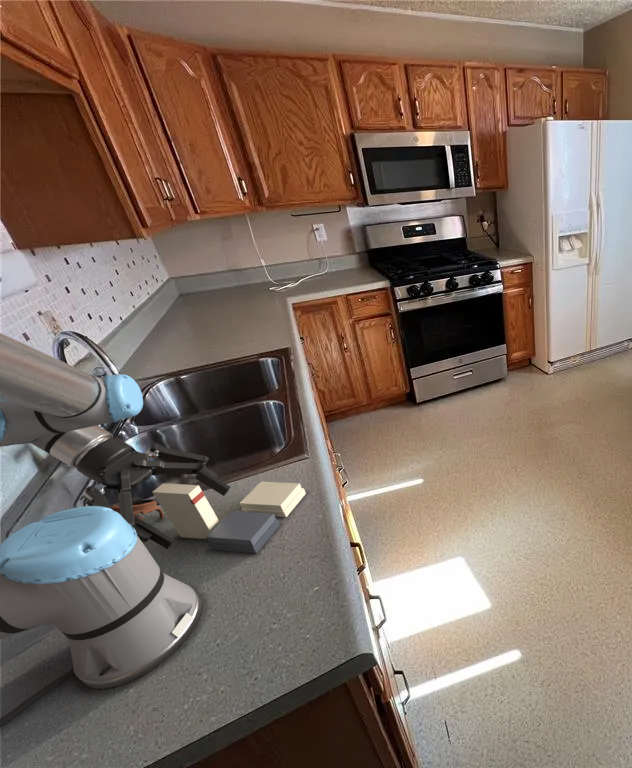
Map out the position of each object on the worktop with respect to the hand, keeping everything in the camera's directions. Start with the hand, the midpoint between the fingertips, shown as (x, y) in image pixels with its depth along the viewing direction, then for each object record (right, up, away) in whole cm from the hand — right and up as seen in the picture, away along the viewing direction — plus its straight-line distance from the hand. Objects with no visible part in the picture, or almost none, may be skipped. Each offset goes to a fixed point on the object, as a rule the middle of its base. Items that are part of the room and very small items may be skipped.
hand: (201, 516), depth 81 cm
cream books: (+9, 0, +9) cm, 13 cm away
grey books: (+8, -4, +1) cm, 9 cm away
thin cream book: (-2, -4, +3) cm, 5 cm away
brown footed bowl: (-16, -5, +4) cm, 17 cm away
